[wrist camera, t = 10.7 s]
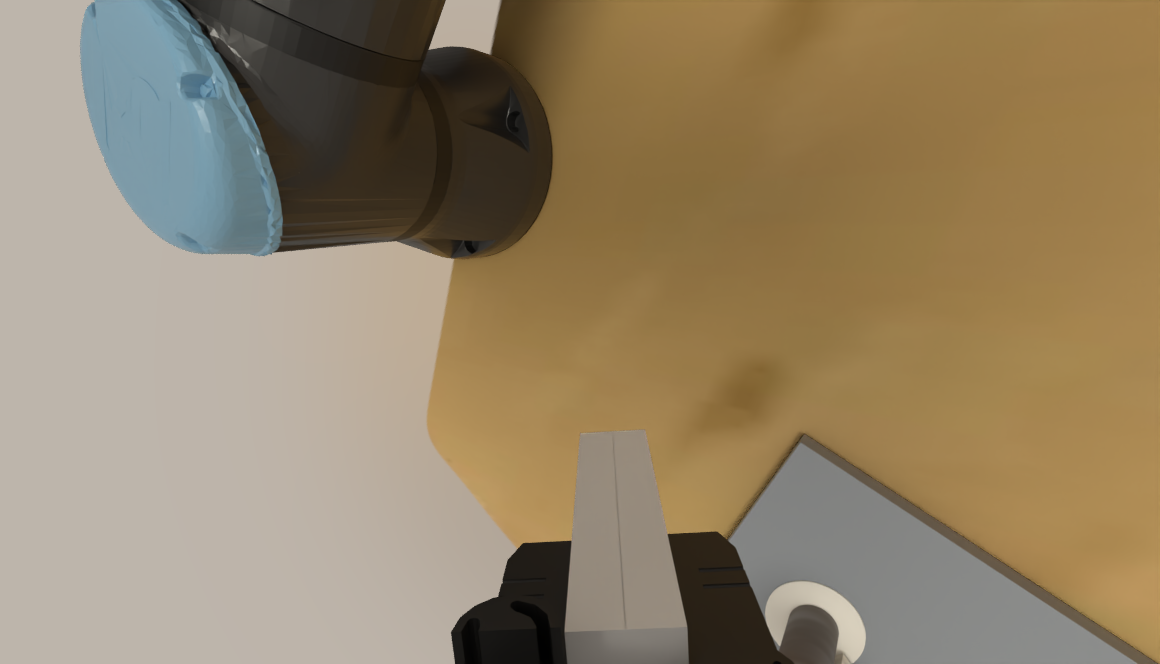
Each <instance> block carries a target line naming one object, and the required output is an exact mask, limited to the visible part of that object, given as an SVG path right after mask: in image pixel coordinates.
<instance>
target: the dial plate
mask: <svg viewBox="0 0 1160 664" xmlns="http://www.w3.org/2000/svg"><path fill="white" fill-rule="evenodd" d="M727 540H728V541H729V542H730V543H731V544H732V545H733V546H735V547H736V550H737V552H738V555H739V557H740V560H741V562H742V564H743V569H744V570H745V572H746V574H747V577H748V579H749V582H750V587H752V589H753V591H754V594H755V596H756V599H757V601H758V604H759V606H760V609H761V611H762V614H763V616H764V618H765V621H766V623H767V626H768V628H769V631H770V633H771V636H772V638H773V641H774V643H775V645H776V648H777V650H778V651H779V649H780V645H781V642H782V639H783V635H784V632H785V629H786V625H787V622H788V619H789V615H790V613H791V611H792V610H793V609H794V608H796V607H798V606H801V605H812V606H816V607H819V608H821V609H823V610H824V611H826V612H827V613H828V614H830V615H831V616H832V618H833V619H834V620H835V622H836V624H837V626H838V630H839V637H838V643H837V648H836V654H835V656H837V655H840V654H844V656H845V657H846V658H847V660H848V661H849V663H850V664H1157V663H1156V662H1154V661H1153V660H1151V659H1150V658H1148V657H1147V656H1145V655H1144V654H1142V653H1141V652H1139V651H1137V650H1136V649H1134V648H1133V647H1131V646H1130V645H1128V644H1127V643H1125V642H1124V641H1122V640H1121V639H1119V638H1117V637H1116V636H1114V635H1113V634H1111V633H1110V632H1108V631H1107V630H1105V629H1104V628H1102V627H1101V626H1099V625H1097V624H1096V623H1094V622H1093V621H1091V620H1090V619H1088V618H1087V617H1085V616H1084V615H1082V614H1081V613H1079V612H1077V611H1076V610H1074V609H1073V608H1071V607H1070V606H1068V605H1067V604H1065V603H1064V602H1062V601H1061V600H1059V599H1057V598H1056V597H1054V596H1053V595H1051V594H1050V593H1048V592H1047V591H1045V590H1044V589H1042V588H1041V587H1039V586H1037V585H1036V584H1034V583H1033V582H1031V581H1030V580H1028V579H1027V578H1025V577H1024V576H1022V575H1021V574H1019V573H1018V572H1016V571H1014V570H1013V569H1011V568H1010V567H1008V566H1007V565H1005V564H1004V563H1002V562H1001V561H999V560H998V559H996V558H994V557H993V556H991V555H990V554H988V553H987V552H985V551H984V550H982V549H981V548H979V547H978V546H976V545H974V544H973V543H971V542H970V541H968V540H967V539H965V538H964V537H962V536H961V535H959V534H958V533H956V532H954V531H953V530H951V529H950V528H948V527H947V526H945V525H944V524H942V523H941V522H939V521H938V520H936V519H934V518H933V517H931V516H930V515H928V514H927V513H925V512H924V511H922V510H921V509H919V508H918V507H916V506H914V505H913V504H911V503H910V502H908V501H907V500H905V499H904V498H902V497H901V496H899V495H898V494H896V493H894V492H893V491H891V490H890V489H888V488H887V487H885V486H884V485H882V484H881V483H879V482H878V481H876V480H874V479H873V478H871V477H870V476H868V475H867V474H865V473H864V472H862V471H861V470H859V469H858V468H856V467H854V466H853V465H851V464H850V463H848V462H847V461H845V460H844V459H842V458H841V457H839V456H838V455H836V454H834V453H833V452H831V451H830V450H828V449H827V448H825V447H824V446H822V445H821V444H819V443H818V442H816V441H814V440H813V439H811V438H810V437H808V436H807V435H805V434H804V435H803V436H802V438H801V439H800V440H799V442H798V443H797V445H796V446H795V447H794V449H793V450H792V451H791V453H790V454H789V456H788V457H787V458H786V460H785V461H784V462H783V464H782V465H781V467H780V468H779V469H778V471H777V472H776V473H775V475H774V476H773V478H772V479H771V480H770V482H769V483H768V484H767V486H766V487H765V489H764V490H763V491H762V493H761V494H760V495H759V497H758V498H757V500H756V501H755V502H754V504H753V505H752V506H751V508H750V509H749V511H748V512H747V513H746V515H745V516H744V517H743V519H742V520H741V522H740V523H739V524H738V526H737V527H736V528H735V530H734V531H733V533H732V534H731V535H730V537H729V538H728V539H727Z"/></svg>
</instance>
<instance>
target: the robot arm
mask: <svg viewBox="0 0 1160 664" xmlns="http://www.w3.org/2000/svg"><path fill="white" fill-rule="evenodd" d="M445 1H446V0H95V2H93V3H91V5H89V6H88V7H87V9H86V11H85V15H84V19H83V23H82V31H81V41H80V54H81V71H82V80H83V87H84V93H85V99H86V103H87V108H88V112H89V117H90V120H91V123H92V127H93V130H94V133H95V137H96V140H97V143H98V145H99V148H100V150H101V153H102V155H103V157H104V160H105V163H106V165H107V167H108V169H109V171H110V174H111V176H112V178H113V180H114V181H115V183H116V185H117V187H118V188H119V190H120V192H121V194H122V195H123V197H124V198H125V200H126V201H127V203H128V204H129V206H130V207H131V208H132V210H133V211H134V212H135V214H136V215H137V216H138V217H139V218H140V219H141V220H142V221H143V222H144V223H145V224H146V225H147V227H148V228H150V229H151V230H152V231H153V232H154V233H155V234H157V235H158V236H159V237H161V238H162V239H163V240H165V241H166V242H168V243H170V244H172V245H174V246H176V247H178V248H181V249H183V250H186V251H189V252H194V253H200V254H251V255H256V256H265V255H268V254H272V253H274V252H284V251H295V250H305V249H314V248H315V249H316V248H326V247H337V246H347V245H357V244H368V243H379V242H389V241H390V242H391V241H397V242H401V243H403V244H406V245H409V246H412V247H415V248H418V249H421V250H424V251H426V252H429V253H432V254H435V255H438V256H441V257H446V258H452V259H469V258H477V257H484V256H489V255H493V254H496V253H498V252H501V251H503V250H505V249H506V248H508V247H510V246H511V245H512V244H514V243H515V242H516V241H517V240H519V239H520V238H521V237H522V236H523V235H524V234H525V232H526V231H527V230H528V229H529V228H530V226H531V225H532V223H533V222H534V220H535V219H536V217H537V215H538V213H539V211H540V209H541V207H542V204H543V202H544V199H545V196H546V193H547V189H548V185H549V180H550V174H551V159H552V154H551V140H550V133H549V128H548V124H547V120H546V117H545V114H544V111H543V108H542V106H541V104H540V101H539V100H538V98H537V96H536V94H535V92H534V91H533V89H532V87H531V86H530V85H529V83H528V82H527V81H526V79H525V78H524V77H523V76H522V75H521V74H520V73H519V72H518V71H517V70H516V69H515V68H513V67H512V66H511V65H509V64H508V63H506V62H505V61H503V60H501V59H499V58H497V57H495V56H492V55H489V54H486V53H483V52H480V51H477V50H474V49H470V48H464V47H443V48H437V49H431V50H428V49H429V46H430V44H431V41H432V38H433V35H434V32H435V29H436V26H437V24H438V21H439V18H440V15H441V12H442V9H443V6H444V4H445ZM451 636H452V643H453V651H454V658H455V664H794V662H793V661H792V660H790V659H789V658H787V657H786V656H785V655H783V654H782V653H781V652H779V651H778V650H777V648H776V645H775V643H774V641H773V638H772V636H771V633H770V631H769V628H768V626H767V623H766V621H765V618H764V616H763V614H762V611H761V609H760V606H759V604H758V601H757V599H756V596H755V594H754V591H753V589H752V587H750V582H749V579H748V577H747V574H746V572H745V570H744V569H743V564H742V562H741V560H740V557H739V555H738V552H737V550H736V547H735V546H733V545H732V544H731V543H730V542H729V541H728V540H726V539H725V538H724V537H723V536H722V535H721V534H719V533H718V532H700V533H679V534H667V530H666V525H665V520H664V516H663V511H662V506H661V502H660V497H659V492H658V488H657V483H656V478H655V474H654V469H653V464H652V460H651V455H650V450H649V446H648V441H647V436H646V432H645V430H627V431H610V432H592V433H580V442H579V455H578V467H577V480H576V493H575V505H574V518H573V530H572V541H558V542H538V543H523V544H522V545H521V546H520V547H519V548H518V549H517V550H516V552H515V553H514V554H513V555H512V556H511V557H510V558H509V559H508V561H507V565H506V569H505V573H504V576H503V584H501V588H500V592H499V596H498V597H496V598H492V599H490V600H488V601H485V602H483V603H480V604H478V605H476V606H474V607H473V608H472V609H470V610H469V611H468V612H467V613H465V614H464V615H463V616H462V617H460V619H459V620H458V622H457V623H456V625H455V627H454V628H453V630H452V632H451Z"/></svg>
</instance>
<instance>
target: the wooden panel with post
mask: <svg viewBox="0 0 1160 664" xmlns="http://www.w3.org/2000/svg"><path fill="white" fill-rule="evenodd" d="M838 637H839V630H838V626H837V624H836V622H835V620H834V619H833V618H832V616H831V615H830V614H828V613H827V612H826V611H824V610H823V609H821V608H819V607H816V606H812V605H801V606H798V607H796V608H794V609H793V610H792V611H791V613H790V615H789V619H788V622H787V625H786V629H785V632H784V635H783V639H782V642H781V645H780V649H779V652H781V653H782V654H783V655H785V656H786V657H787V658H789V659H790V660H792V661H793V662H794V664H850V663H849V661H848V660H847V658H846V657H845V656H844V654H840V655H837V656H835V654H836V648H837V643H838Z"/></svg>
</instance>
